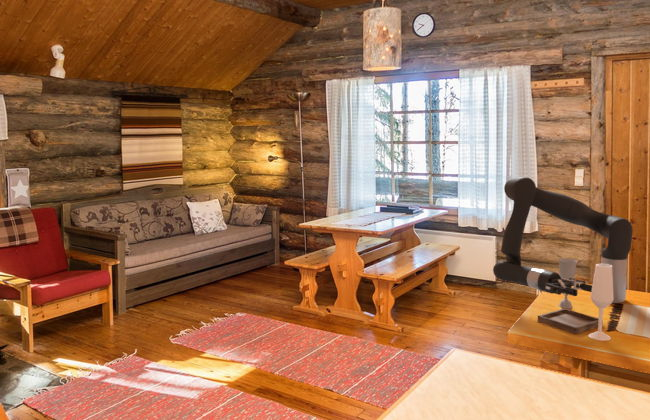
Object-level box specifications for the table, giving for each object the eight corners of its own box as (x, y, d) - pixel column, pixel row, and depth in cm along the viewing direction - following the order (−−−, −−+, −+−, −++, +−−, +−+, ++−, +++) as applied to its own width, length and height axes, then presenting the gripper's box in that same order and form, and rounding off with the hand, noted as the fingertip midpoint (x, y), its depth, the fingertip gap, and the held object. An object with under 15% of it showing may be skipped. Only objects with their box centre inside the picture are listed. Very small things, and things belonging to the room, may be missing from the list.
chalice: (578, 309, 216) (581, 262, 213) (560, 309, 216) (562, 262, 213) (570, 303, 223) (573, 258, 220) (552, 303, 223) (555, 258, 220)
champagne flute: (612, 341, 183) (617, 268, 180) (589, 339, 185) (594, 267, 182) (609, 334, 190) (613, 263, 186) (586, 332, 192) (591, 262, 188)
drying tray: (564, 314, 210) (564, 308, 210) (602, 325, 198) (602, 319, 197) (537, 321, 202) (537, 315, 202) (575, 334, 190) (575, 328, 189)
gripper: (530, 272, 200) (572, 283, 186) (556, 267, 207) (598, 277, 194) (529, 293, 201) (570, 305, 187) (555, 287, 208) (597, 298, 195)
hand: (584, 291), depth 190 cm, fingers open, 8 cm apart
